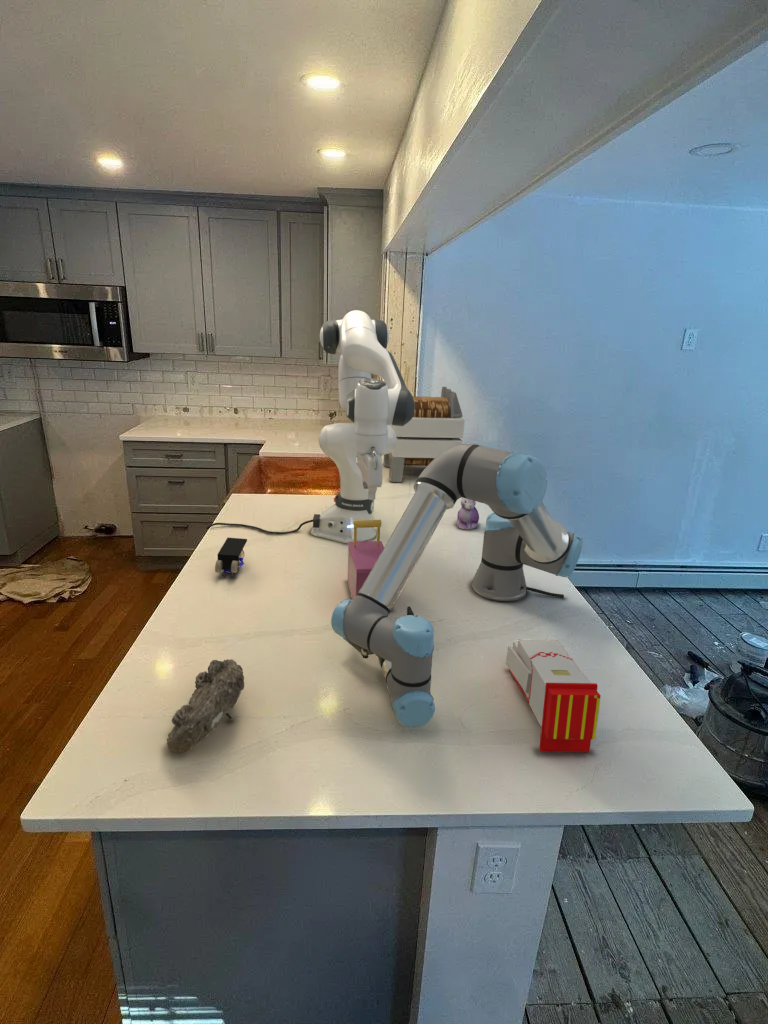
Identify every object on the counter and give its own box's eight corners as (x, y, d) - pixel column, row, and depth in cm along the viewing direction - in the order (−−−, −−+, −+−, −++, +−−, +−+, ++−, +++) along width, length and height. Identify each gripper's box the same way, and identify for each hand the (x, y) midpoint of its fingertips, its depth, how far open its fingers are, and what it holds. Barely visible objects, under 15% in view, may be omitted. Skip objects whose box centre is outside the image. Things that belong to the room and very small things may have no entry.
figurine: (464, 532, 204) (468, 492, 199) (449, 522, 212) (452, 484, 207) (486, 528, 208) (490, 489, 203) (469, 519, 216) (473, 481, 211)
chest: (347, 581, 164) (348, 545, 160) (379, 580, 165) (381, 544, 161) (355, 612, 147) (356, 573, 144) (391, 610, 149) (393, 571, 145)
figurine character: (238, 584, 162) (249, 557, 175) (236, 562, 158) (247, 536, 172) (215, 584, 161) (227, 556, 175) (212, 561, 158) (225, 535, 171)
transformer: (382, 463, 289) (386, 382, 275) (445, 464, 293) (451, 384, 279) (390, 482, 257) (394, 392, 243) (460, 483, 261) (468, 394, 247)
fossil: (192, 660, 117) (244, 628, 112) (224, 691, 120) (276, 661, 115) (142, 746, 98) (202, 712, 93) (182, 779, 101) (242, 748, 96)
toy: (554, 622, 128) (610, 691, 98) (548, 677, 130) (601, 759, 101) (501, 621, 127) (541, 690, 98) (496, 676, 130) (534, 758, 101)
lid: (348, 545, 160) (348, 516, 157) (381, 544, 162) (382, 515, 159) (356, 573, 144) (357, 541, 141) (393, 571, 145) (394, 540, 142)
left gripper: (389, 452, 139) (387, 506, 144) (376, 434, 158) (374, 482, 162) (364, 453, 138) (362, 506, 142) (353, 434, 157) (352, 482, 161)
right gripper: (338, 685, 116) (329, 629, 136) (455, 675, 121) (429, 623, 140) (339, 653, 113) (329, 601, 133) (458, 645, 118) (431, 596, 138)
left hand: (368, 493), depth 153 cm, fingers open, 8 cm apart
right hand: (380, 612), depth 137 cm, fingers open, 13 cm apart
